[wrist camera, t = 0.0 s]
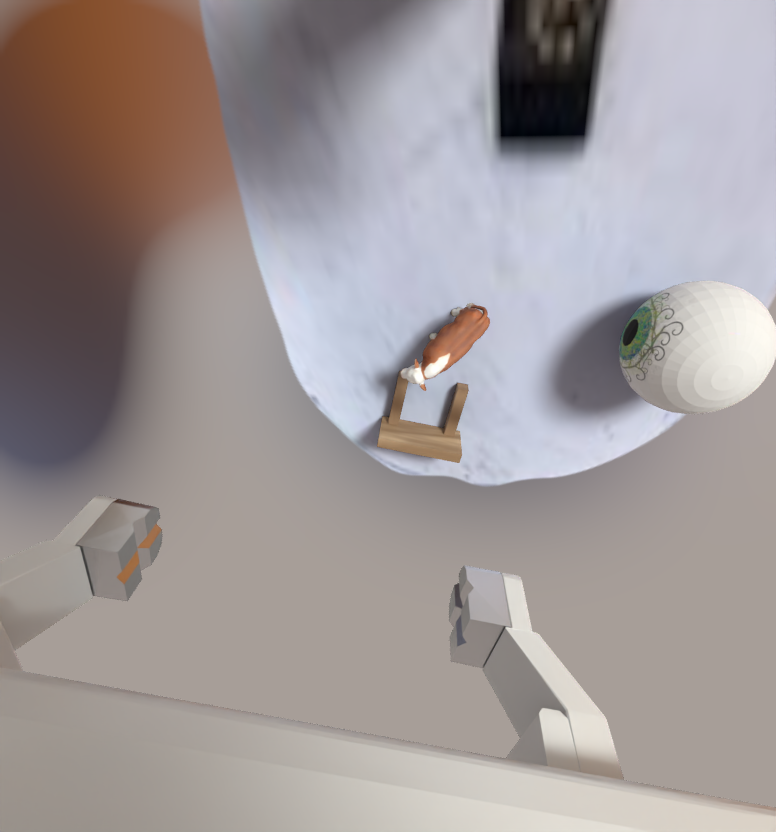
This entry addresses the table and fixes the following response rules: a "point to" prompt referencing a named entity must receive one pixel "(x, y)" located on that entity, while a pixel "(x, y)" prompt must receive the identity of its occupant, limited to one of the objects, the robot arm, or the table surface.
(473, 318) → the bull figurine
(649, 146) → the table surface
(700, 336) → the decorative object
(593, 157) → the table surface
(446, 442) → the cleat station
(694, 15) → the table surface
